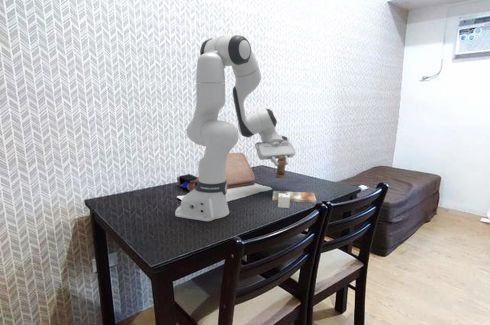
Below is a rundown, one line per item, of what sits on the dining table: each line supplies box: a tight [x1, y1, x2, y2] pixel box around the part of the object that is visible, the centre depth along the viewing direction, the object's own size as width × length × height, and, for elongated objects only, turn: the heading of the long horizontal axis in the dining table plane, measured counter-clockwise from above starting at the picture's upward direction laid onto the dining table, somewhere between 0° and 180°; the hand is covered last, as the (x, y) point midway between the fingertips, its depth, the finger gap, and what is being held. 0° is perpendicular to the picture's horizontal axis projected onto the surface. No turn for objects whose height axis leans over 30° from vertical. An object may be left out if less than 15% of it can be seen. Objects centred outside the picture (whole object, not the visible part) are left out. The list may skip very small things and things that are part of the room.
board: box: [272, 190, 317, 204], centre depth 145 cm, size 20×11×1 cm, turn 83°
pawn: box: [274, 156, 287, 179], centre depth 142 cm, size 5×5×10 cm
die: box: [277, 193, 291, 209], centre depth 134 cm, size 5×5×5 cm
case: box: [226, 152, 256, 189], centre depth 168 cm, size 20×21×16 cm
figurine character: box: [176, 173, 199, 192], centre depth 156 cm, size 7×8×15 cm
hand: (282, 164), depth 142 cm, fingers closed on pawn, 4 cm apart
